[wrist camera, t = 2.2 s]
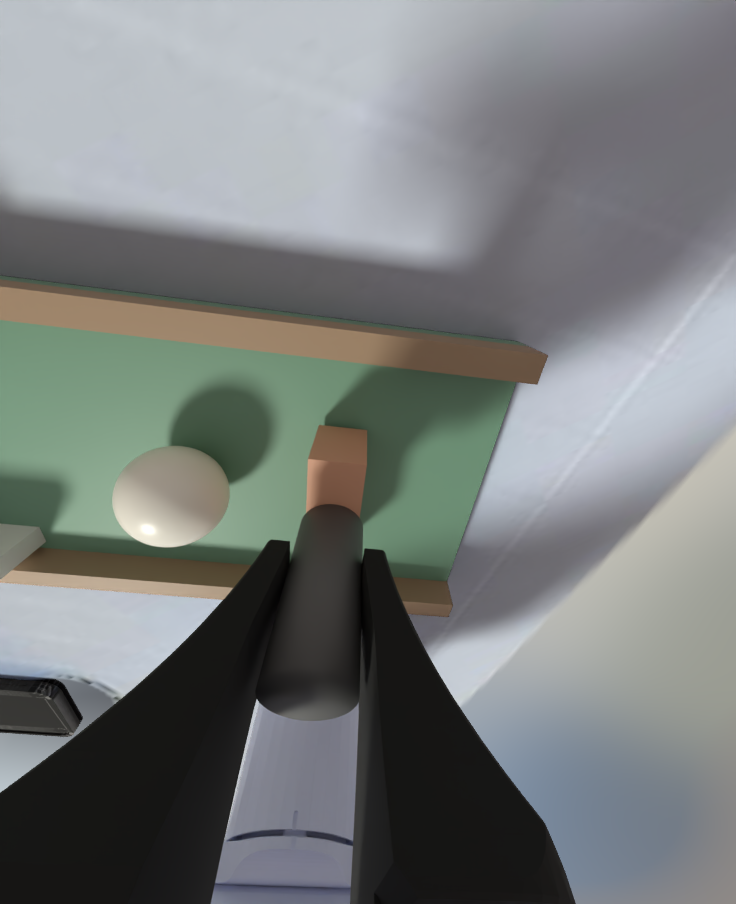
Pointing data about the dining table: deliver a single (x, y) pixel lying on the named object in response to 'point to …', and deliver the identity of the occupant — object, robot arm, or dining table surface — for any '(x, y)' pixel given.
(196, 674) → the robot arm
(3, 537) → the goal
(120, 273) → the dining table surface
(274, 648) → the kicker
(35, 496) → the pitch
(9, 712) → the phone
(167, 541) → the ball
